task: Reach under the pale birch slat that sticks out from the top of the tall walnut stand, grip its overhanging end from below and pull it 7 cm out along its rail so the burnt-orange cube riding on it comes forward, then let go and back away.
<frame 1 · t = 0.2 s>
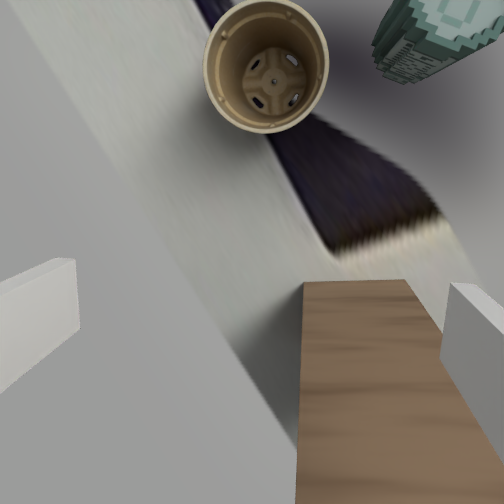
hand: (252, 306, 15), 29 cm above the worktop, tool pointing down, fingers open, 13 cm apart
can: (407, 46, 38), on the worktop
stand: (354, 313, 45), on the worktop
flower pot: (273, 82, 41), on the worktop
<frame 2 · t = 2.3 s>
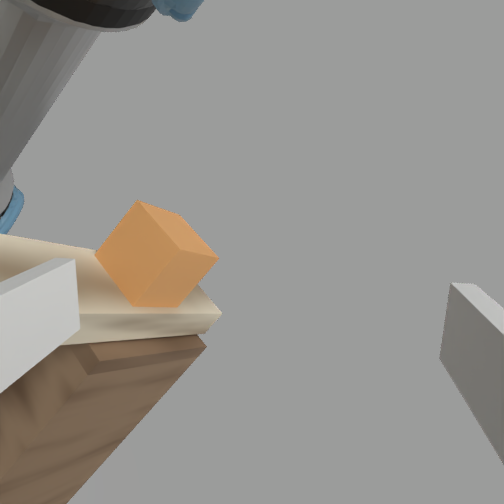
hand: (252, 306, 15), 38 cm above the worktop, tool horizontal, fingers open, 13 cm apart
slat: (80, 292, 22), point 31 cm above the worktop, slide at 1.4 cm, touching cube
cube: (137, 282, 25), point 32 cm above the worktop, touching slat
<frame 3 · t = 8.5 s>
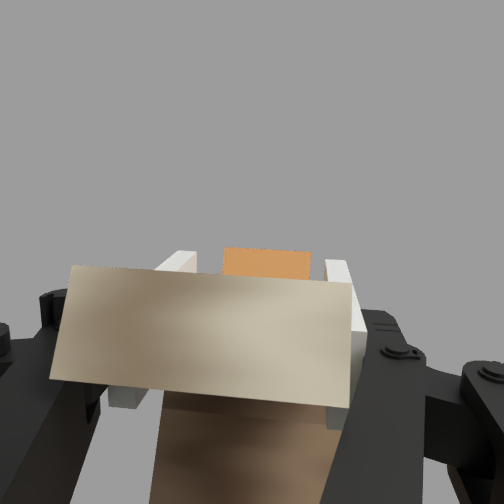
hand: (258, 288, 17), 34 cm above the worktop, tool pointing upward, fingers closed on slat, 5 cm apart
slat: (255, 358, 17), point 31 cm above the worktop, slide at 1.4 cm, touching cube, gripper
cube: (263, 340, 21), point 32 cm above the worktop, touching slat
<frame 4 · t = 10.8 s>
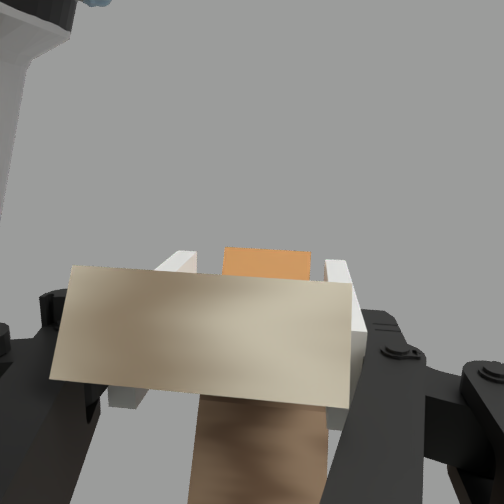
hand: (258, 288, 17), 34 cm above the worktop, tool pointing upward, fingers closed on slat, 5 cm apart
slat: (255, 358, 17), point 31 cm above the worktop, slide at 8.4 cm, touching cube, gripper
cube: (263, 340, 21), point 32 cm above the worktop, touching slat
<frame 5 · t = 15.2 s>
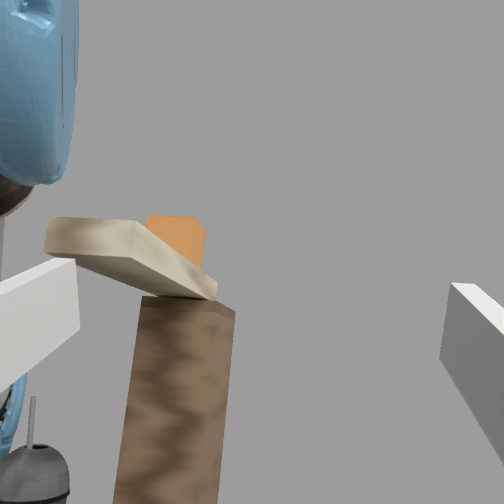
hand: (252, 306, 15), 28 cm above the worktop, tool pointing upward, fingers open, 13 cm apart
slat: (156, 272, 33), point 31 cm above the worktop, slide at 8.0 cm, touching arm, cube
cube: (172, 268, 37), point 32 cm above the worktop, touching slat
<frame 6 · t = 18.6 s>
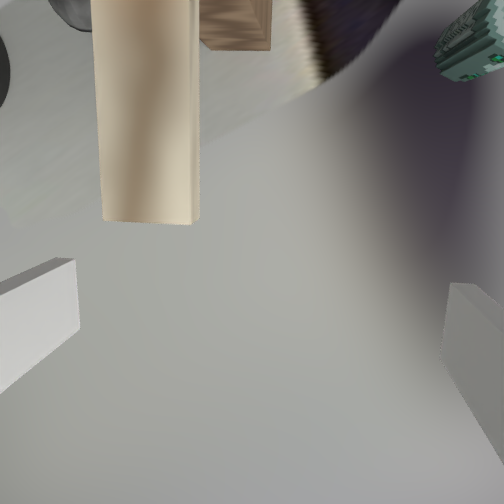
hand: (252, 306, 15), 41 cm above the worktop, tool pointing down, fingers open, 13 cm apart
slat: (146, 17, 22), point 31 cm above the worktop, slide at 5.9 cm, touching cube
can: (462, 51, 49), on the worktop
stand: (241, 3, 50), on the worktop
beverage cup: (134, 23, 52), on the worktop
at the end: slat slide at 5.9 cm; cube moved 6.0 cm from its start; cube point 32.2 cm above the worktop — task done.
